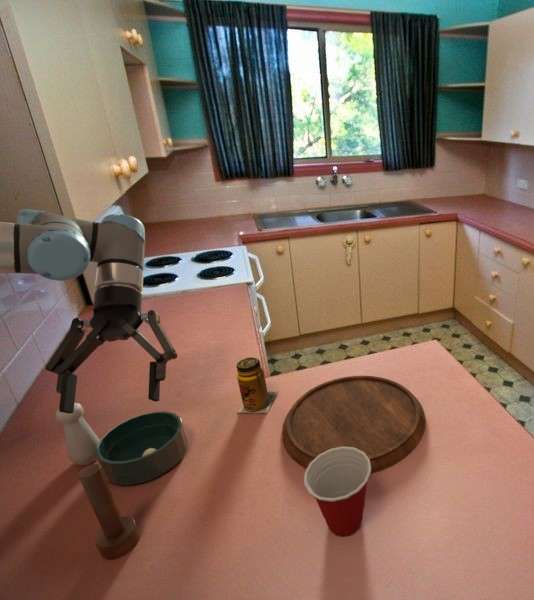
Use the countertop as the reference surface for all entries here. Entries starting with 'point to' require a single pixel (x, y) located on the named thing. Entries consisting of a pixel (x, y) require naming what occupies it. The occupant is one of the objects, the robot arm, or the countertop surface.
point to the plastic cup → (340, 487)
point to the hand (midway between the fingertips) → (110, 406)
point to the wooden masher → (108, 516)
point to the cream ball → (149, 451)
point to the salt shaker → (78, 436)
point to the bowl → (141, 447)
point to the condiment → (253, 387)
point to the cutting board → (355, 421)
